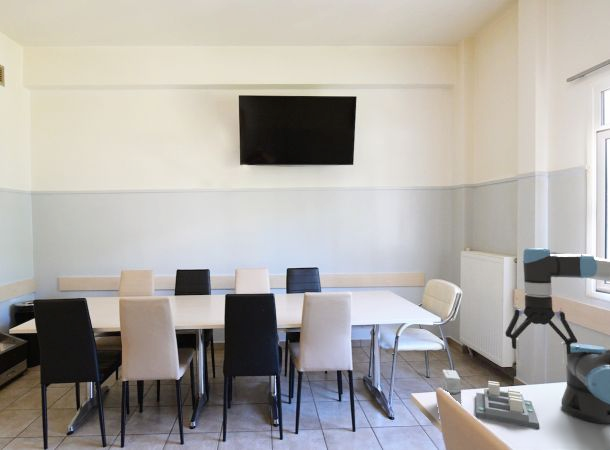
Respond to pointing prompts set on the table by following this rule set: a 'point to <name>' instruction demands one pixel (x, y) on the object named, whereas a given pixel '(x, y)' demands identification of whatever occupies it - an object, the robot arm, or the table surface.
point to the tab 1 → (494, 388)
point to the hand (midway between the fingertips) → (540, 361)
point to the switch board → (504, 409)
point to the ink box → (452, 384)
